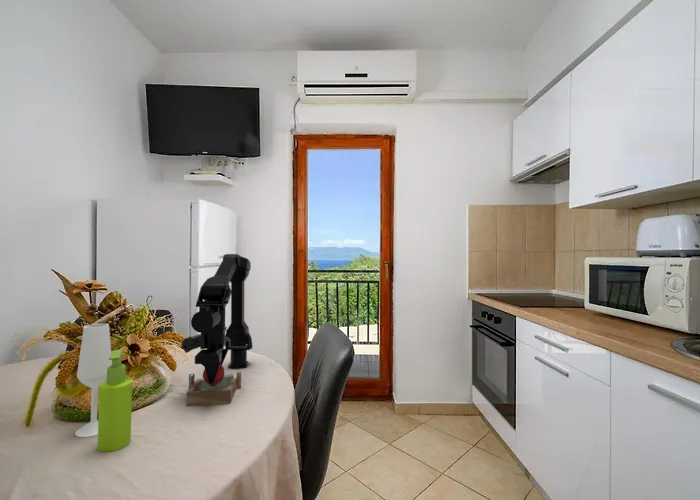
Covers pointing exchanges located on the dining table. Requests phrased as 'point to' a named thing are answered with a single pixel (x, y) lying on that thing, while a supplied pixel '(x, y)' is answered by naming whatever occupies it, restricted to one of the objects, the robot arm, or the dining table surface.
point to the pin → (191, 380)
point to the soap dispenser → (115, 407)
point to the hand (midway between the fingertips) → (213, 379)
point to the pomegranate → (218, 377)
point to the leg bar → (223, 383)
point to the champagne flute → (93, 368)
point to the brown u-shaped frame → (212, 393)
